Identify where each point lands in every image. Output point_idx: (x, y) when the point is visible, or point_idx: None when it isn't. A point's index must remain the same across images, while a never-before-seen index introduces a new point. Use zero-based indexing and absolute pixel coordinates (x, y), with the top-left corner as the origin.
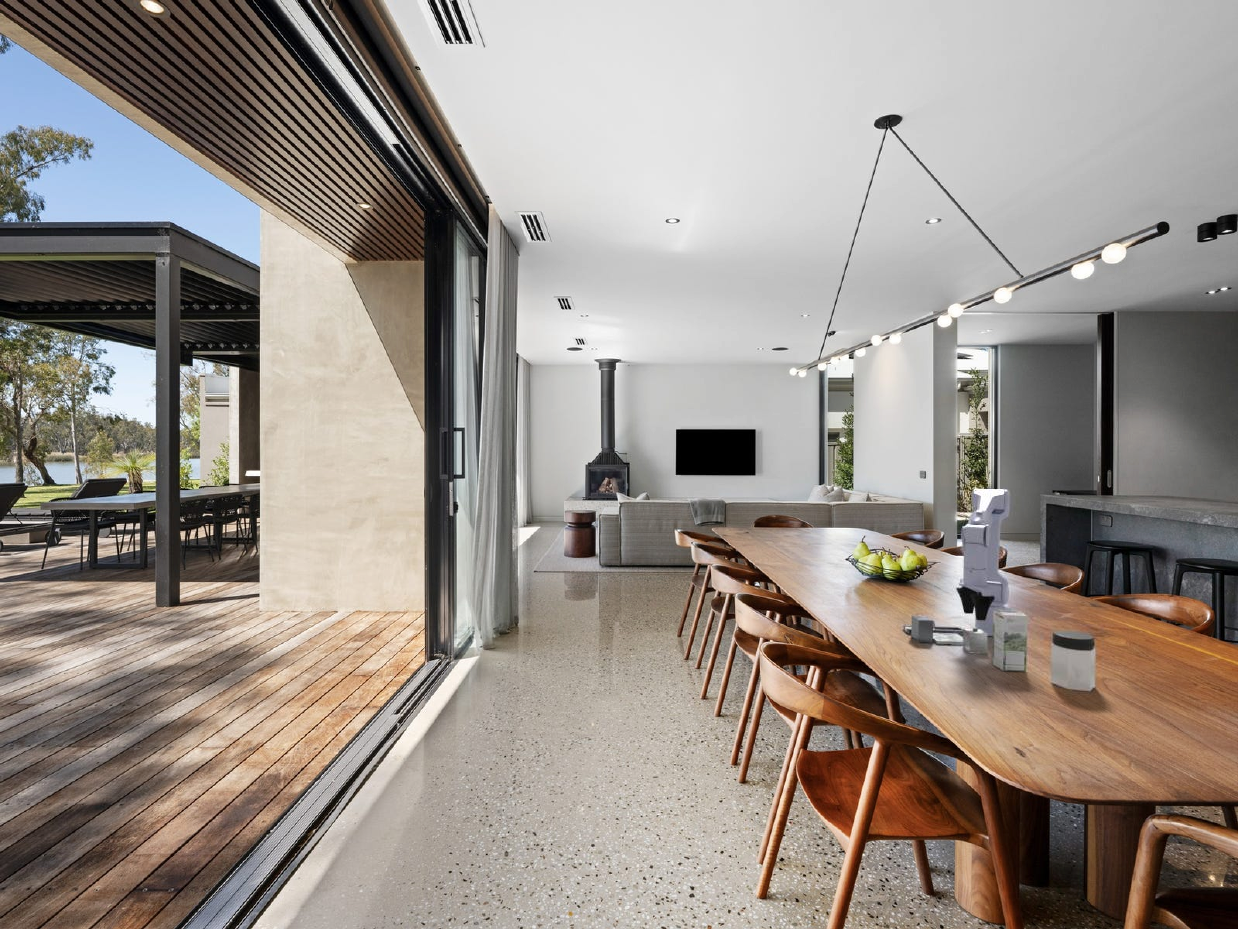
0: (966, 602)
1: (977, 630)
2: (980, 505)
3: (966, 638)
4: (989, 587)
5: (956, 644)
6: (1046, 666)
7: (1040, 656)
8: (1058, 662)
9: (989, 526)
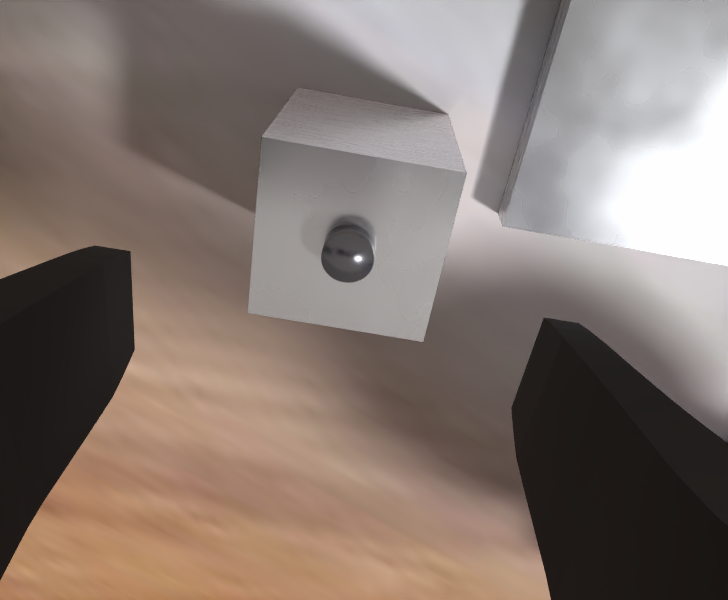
0: (601, 472)
1: (327, 267)
2: None
3: (371, 130)
4: None
5: (532, 99)
6: None
7: (226, 496)
8: None
9: None
